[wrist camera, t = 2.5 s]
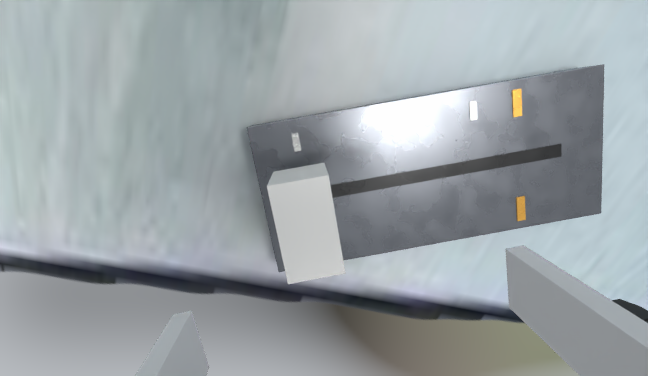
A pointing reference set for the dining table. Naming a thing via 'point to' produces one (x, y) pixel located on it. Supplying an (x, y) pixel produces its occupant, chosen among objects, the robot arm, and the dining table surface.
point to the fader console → (449, 161)
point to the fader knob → (306, 223)
